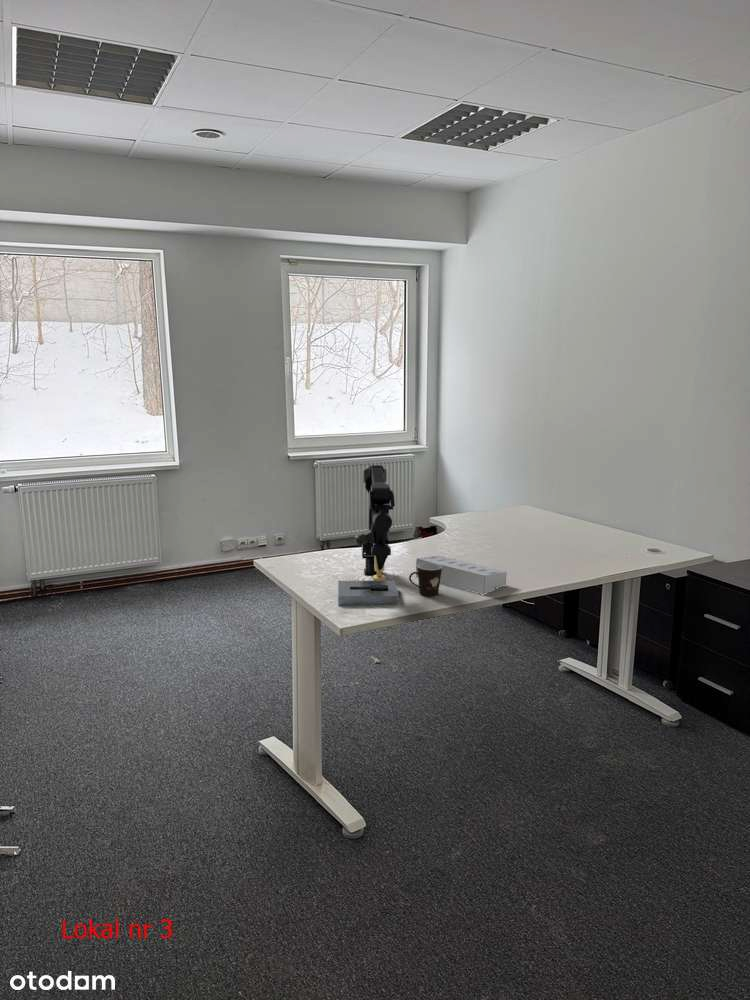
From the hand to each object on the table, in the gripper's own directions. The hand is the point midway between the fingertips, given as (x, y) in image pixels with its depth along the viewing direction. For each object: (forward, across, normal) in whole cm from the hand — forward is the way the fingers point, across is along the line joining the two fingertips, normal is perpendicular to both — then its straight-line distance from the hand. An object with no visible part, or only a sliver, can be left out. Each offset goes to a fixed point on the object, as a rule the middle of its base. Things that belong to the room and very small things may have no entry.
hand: (379, 568), depth 237 cm
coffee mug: (+10, -3, +16) cm, 19 cm away
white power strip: (+11, -17, +31) cm, 37 cm away
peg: (+4, 0, 0) cm, 4 cm away
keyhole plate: (+10, 0, -4) cm, 11 cm away
